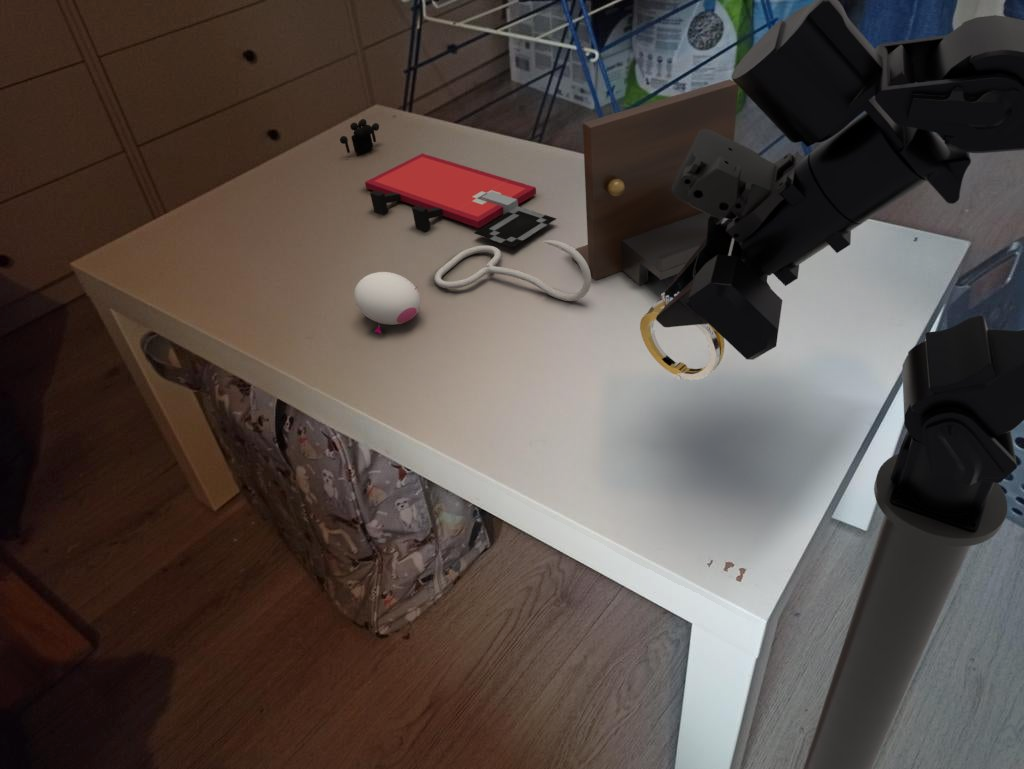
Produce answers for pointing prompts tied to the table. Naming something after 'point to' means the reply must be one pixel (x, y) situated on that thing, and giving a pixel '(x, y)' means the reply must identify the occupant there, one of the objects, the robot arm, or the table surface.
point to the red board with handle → (459, 198)
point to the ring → (660, 356)
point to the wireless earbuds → (361, 137)
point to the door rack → (648, 182)
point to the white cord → (515, 271)
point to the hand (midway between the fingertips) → (664, 309)
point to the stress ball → (387, 298)
